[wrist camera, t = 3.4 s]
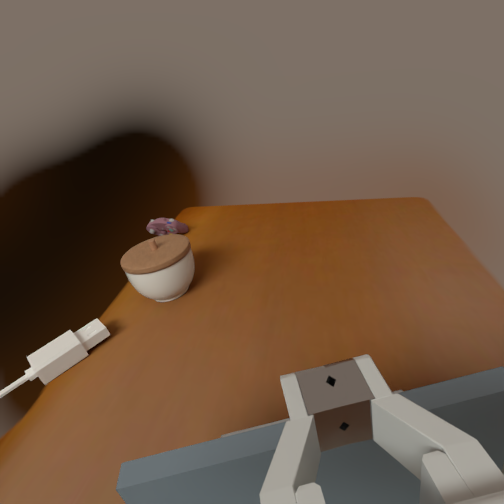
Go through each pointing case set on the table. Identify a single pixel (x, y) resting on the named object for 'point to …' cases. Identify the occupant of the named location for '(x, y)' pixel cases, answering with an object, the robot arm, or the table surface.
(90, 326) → the charging cable
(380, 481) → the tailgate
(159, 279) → the lidded bowl
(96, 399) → the table surface
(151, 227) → the video game controller
